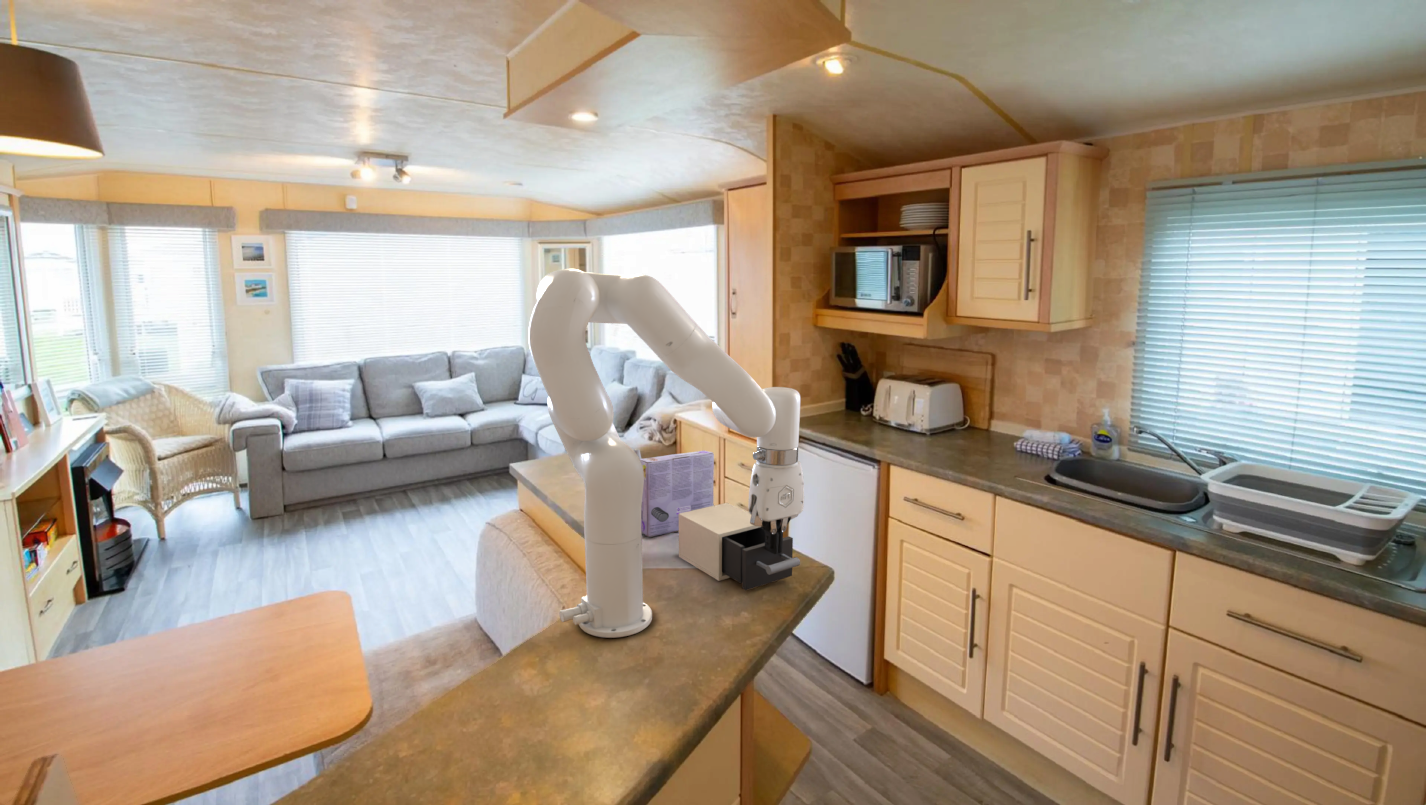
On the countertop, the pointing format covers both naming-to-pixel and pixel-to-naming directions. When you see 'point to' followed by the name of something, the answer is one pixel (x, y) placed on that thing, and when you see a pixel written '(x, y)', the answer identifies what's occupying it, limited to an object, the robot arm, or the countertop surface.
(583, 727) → the countertop surface
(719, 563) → the cream drawer cabinet
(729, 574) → the black drawer
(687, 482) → the cake pan box
